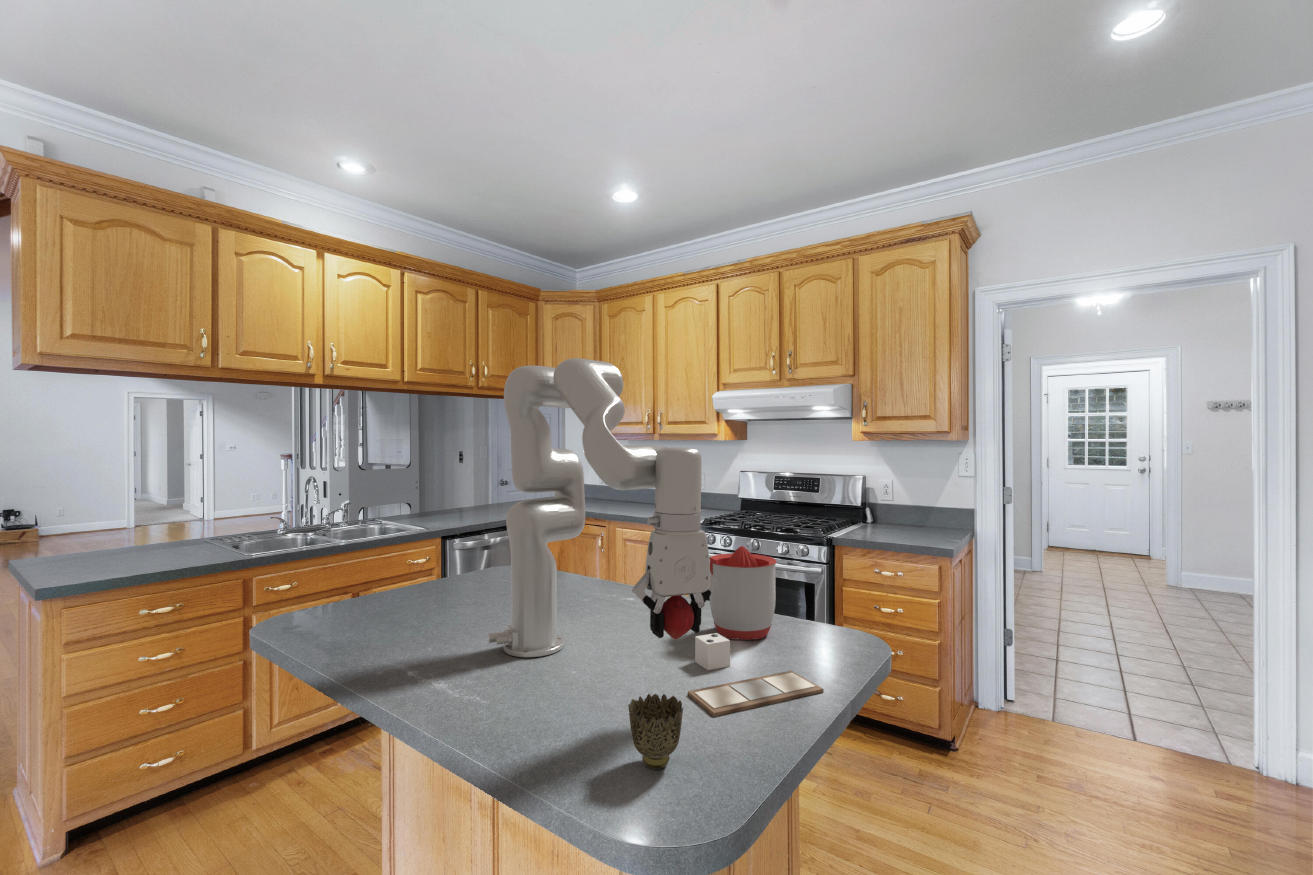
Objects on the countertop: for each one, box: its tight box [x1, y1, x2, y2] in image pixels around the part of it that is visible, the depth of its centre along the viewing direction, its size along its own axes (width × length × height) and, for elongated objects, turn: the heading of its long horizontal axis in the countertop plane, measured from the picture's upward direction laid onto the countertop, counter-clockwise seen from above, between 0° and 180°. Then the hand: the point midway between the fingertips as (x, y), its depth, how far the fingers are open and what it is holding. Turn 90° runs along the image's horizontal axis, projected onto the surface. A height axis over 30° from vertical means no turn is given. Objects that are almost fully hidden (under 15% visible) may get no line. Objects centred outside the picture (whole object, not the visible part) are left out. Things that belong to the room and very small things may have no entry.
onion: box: [661, 595, 694, 640], centre depth 94 cm, size 6×6×8 cm
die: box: [694, 632, 731, 671], centre depth 114 cm, size 5×5×5 cm
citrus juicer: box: [709, 545, 778, 641], centre depth 133 cm, size 16×17×20 cm
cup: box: [628, 693, 684, 770], centre depth 78 cm, size 8×7×8 cm
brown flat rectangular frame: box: [687, 670, 825, 717], centre depth 100 cm, size 22×9×1 cm, turn 114°
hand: (675, 631), depth 94 cm, fingers closed on onion, 5 cm apart
